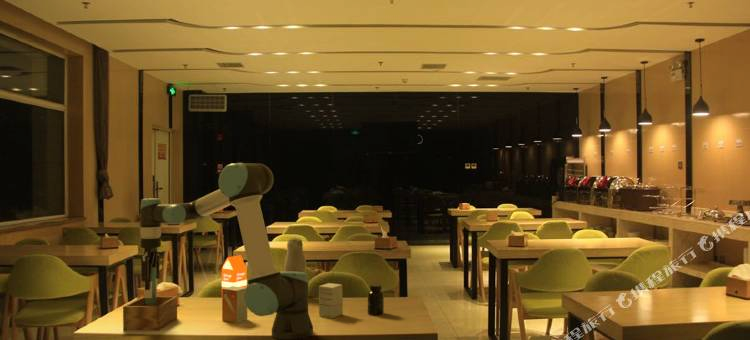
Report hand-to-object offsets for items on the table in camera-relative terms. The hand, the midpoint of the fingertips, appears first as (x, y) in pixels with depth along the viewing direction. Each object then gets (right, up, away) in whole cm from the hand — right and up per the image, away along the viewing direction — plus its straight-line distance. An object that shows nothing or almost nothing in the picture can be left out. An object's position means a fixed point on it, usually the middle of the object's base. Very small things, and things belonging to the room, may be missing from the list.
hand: (150, 296), depth 229 cm
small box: (+32, -11, +5) cm, 34 cm away
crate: (0, -11, 0) cm, 11 cm away
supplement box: (+70, -11, +12) cm, 72 cm away
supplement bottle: (+89, -11, +14) cm, 91 cm away
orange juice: (+22, -11, +46) cm, 52 cm away
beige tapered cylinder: (+51, -11, +49) cm, 71 cm away
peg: (0, -3, 0) cm, 3 cm away
